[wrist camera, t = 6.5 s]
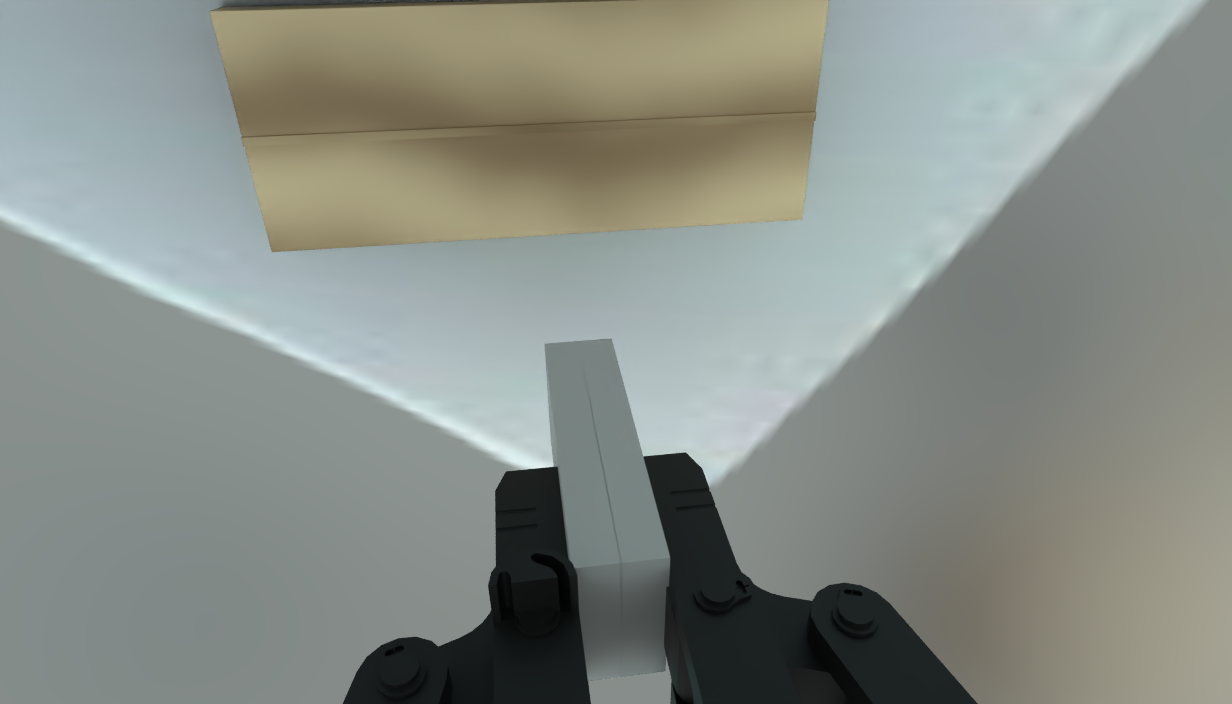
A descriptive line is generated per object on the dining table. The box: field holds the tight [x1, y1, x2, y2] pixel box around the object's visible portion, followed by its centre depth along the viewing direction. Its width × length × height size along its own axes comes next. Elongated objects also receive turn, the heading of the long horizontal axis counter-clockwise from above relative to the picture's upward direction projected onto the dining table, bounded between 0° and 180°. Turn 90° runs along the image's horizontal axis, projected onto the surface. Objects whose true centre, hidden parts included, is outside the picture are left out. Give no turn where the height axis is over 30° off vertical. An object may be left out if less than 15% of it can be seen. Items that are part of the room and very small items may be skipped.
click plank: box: [210, 0, 829, 252], centre depth 27 cm, size 8×20×1 cm, turn 90°
